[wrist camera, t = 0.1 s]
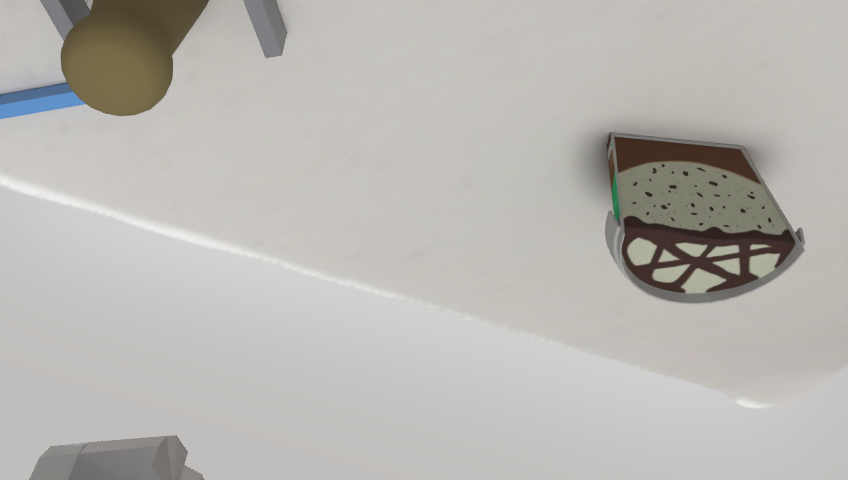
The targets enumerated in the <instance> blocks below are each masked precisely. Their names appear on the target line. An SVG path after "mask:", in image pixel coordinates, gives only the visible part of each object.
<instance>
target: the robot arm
mask: <svg viewBox="0 0 848 480" xmlns="http://www.w3.org/2000/svg"><path fill="white" fill-rule="evenodd" d="M187 453H188V452H187V450H186V448H185V447H184V446H183V444H182V443H181V441H180V440H179V438H178V437H177V436H176V435H175V436H161V437H149V438H137V439H124V440H112V441H101V442H90V443H79V444H69V445H59V446H51V447H50V448H49V449H48V450H47V451H46V452H45V453H44V454H43V455H42V456H41V457H40V458H39V460H38V462H37V464H36V466H35V468H34V471H33V473H32V475H31V477H30V479H29V480H204V478H203V476H202V474H200V473H198V472H196V471H195V470H193V469H191V468H188V467H187V466H185V465H184V464H185V460H186V457H187Z"/></svg>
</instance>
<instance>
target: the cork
mask: <svg viewBox="0 0 848 480" xmlns="http://www.w3.org/2000/svg"><path fill="white" fill-rule="evenodd" d="M208 1H209V0H93V4H92V8H91V11H90V15H88V16H86V17H84V18H83V19H81V20H80V21H79V22H78V23H77V24H76V25H75V26H74V27H73V28H72V29H71V30H70V31H69V33H68V34H67V36H66V38H65V41H64V44H63V46H62V49H61V66H62V72H63V74H64V76H65V78H66V81H67V83H68V85H69V87H70V88H71V90H72V91H73V92H74V93H75V94H76V95H77V97H78V98H79V99H80V100H82V101H83V102H84V103H86V104H87V105H89V106H90V107H91V108H94V109H96V110H98V111H101V112H103V113H106V114H111V115H117V116H128V115H136V114H139V113H142V112H144V111H147V110H150V109H151V108H152V107H154V106H155V105H156V104H157V103H158V102H159V101H160V100H161V99H162V98H163V97H164V96H165V94H166V92H167V90H168V88H169V86H170V83H171V81H172V76H173V59H172V55H173V53H174V52H175V51H176V49H177V48H178V46H179V45H180V43H181V42H182V40H183V39H184V37H185V36H186V35H187V33H188V32H189V30H190V29H191V27H192V26H193V24H194V23H195V22H196V20H197V19H198V17H199V16H200V14H201V13H202V11H203V10H204V9H205V7H206V5H207V3H208Z"/></svg>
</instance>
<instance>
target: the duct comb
mask: <svg viewBox="0 0 848 480" xmlns="http://www.w3.org/2000/svg"><path fill="white" fill-rule="evenodd" d="M40 1H41V2H42V4H43V6H44V8H45V9H46V11H47V13H48V15H49V16H50V18H51V20H52V21H53V23H54V25H55V27H56V28H57V30H58V32H59V34H60V35H61V37H62V39H63V40H64V41H65V38H66V36H67V34H68V33H69V31H70V30H71V29H72V28H73V27H74V26H75V25H76V24H77V23H78V22H79V21H80V20H81V19H83V18H84V17H86V16H88V15H90V11H89V9H88V7H87V5H86V3H85V1H84V0H40ZM243 1H244V3H245V6H246V8H247V11H248V14H249V16H250V19H251V21H252V24H253V27H254V29H255V32H256V34H257V37H258V39H259V42H260V45H261V47H262V50H263V52H264V55H265V58H269V57H275V56H281V55H282V53H283V48H284V44H285V39H286V34H287V32H286V29H285V26H284V23H283V21H282V18H281V15H280V12H279V9H278V7H277V4H276V1H275V0H243ZM83 104H86V103H84V102H83V101H82V100H80V99H79V98H78V97H77V95H76V94H75V93H74V92H73V91H72V90H71V88H70V87H69V85H68V83H65V84H59V85H54V86H48V87H43V88H37V89H32V90H26V91H20V92H15V93H9V94H4V95H0V119H3V118H9V117H15V116H20V115H26V114H32V113H37V112H43V111H49V110H54V109H60V108H66V107H71V106H77V105H83Z"/></svg>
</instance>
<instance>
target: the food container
mask: <svg viewBox="0 0 848 480" xmlns="http://www.w3.org/2000/svg"><path fill="white" fill-rule="evenodd" d="M607 151H608V161H609V170H610V180H611V190H612V200H613V210H614V215H613V213H612V211H609V212H608V216H607V219H606V226H605V236H606V242H607V246H608V248H609V251H610V253H611V255H612V257H613V259H614V260H615V262H616V264H617V266H618V267H619V269H620V270H621V272H622V273H623V275H624V276H625V277H626V278H627V279H628V280H629V281H630V282H631V283H632V284H633V285H634V286H635V287H637V288H638V289H639V290H641V291H642V292H644V293H646V294H647V295H650V296H652V297H654V298H657V299H660V300H664V301H667V302H673V303H680V304H705V303H714V302H720V301H725V300H729V299H732V298H736V297H739V296H742V295H745V294H747V293H750V292H753V291H755V290H757V289H759V288H761V287H763V286H765V285H767V284H768V283H770V282H772V281H773V280H775V279H777V278H778V277H779V276H781V275H782V274H783V273H784V272H786V271H787V270H788V269H789V268H790V267H791V266H792V265H793V264H794V263H795V262H796V261H797V260H798V259H799V258H800V257H801V255H802V254H803V253H804V251H805V250H804V248H803V246H804V245H805V240H804V236H803V231H802V228H799V229H798V230H797V231H796V233H795V232H794V230H793V229H792V227H791V225H790V224H789V222H788V220H787V219H786V217H785V215H784V214H783V212H782V210H781V209H780V207H779V206H778V204H777V202H776V201H775V199H774V197H773V196H772V194H771V192H770V191H769V189H768V187H767V186H766V184H765V182H764V181H763V179H762V177H761V176H760V174H759V172H758V171H757V169H756V168H755V166H754V164H753V163H752V161H751V159H750V158H749V156H748V154H747V153H746V151H745V149H744V148H743V146H741V145H731V144H721V143H711V142H701V141H691V140H681V139H671V138H661V137H651V136H641V135H631V134H621V133H611V132H610V136H609V140H608V144H607Z"/></svg>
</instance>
